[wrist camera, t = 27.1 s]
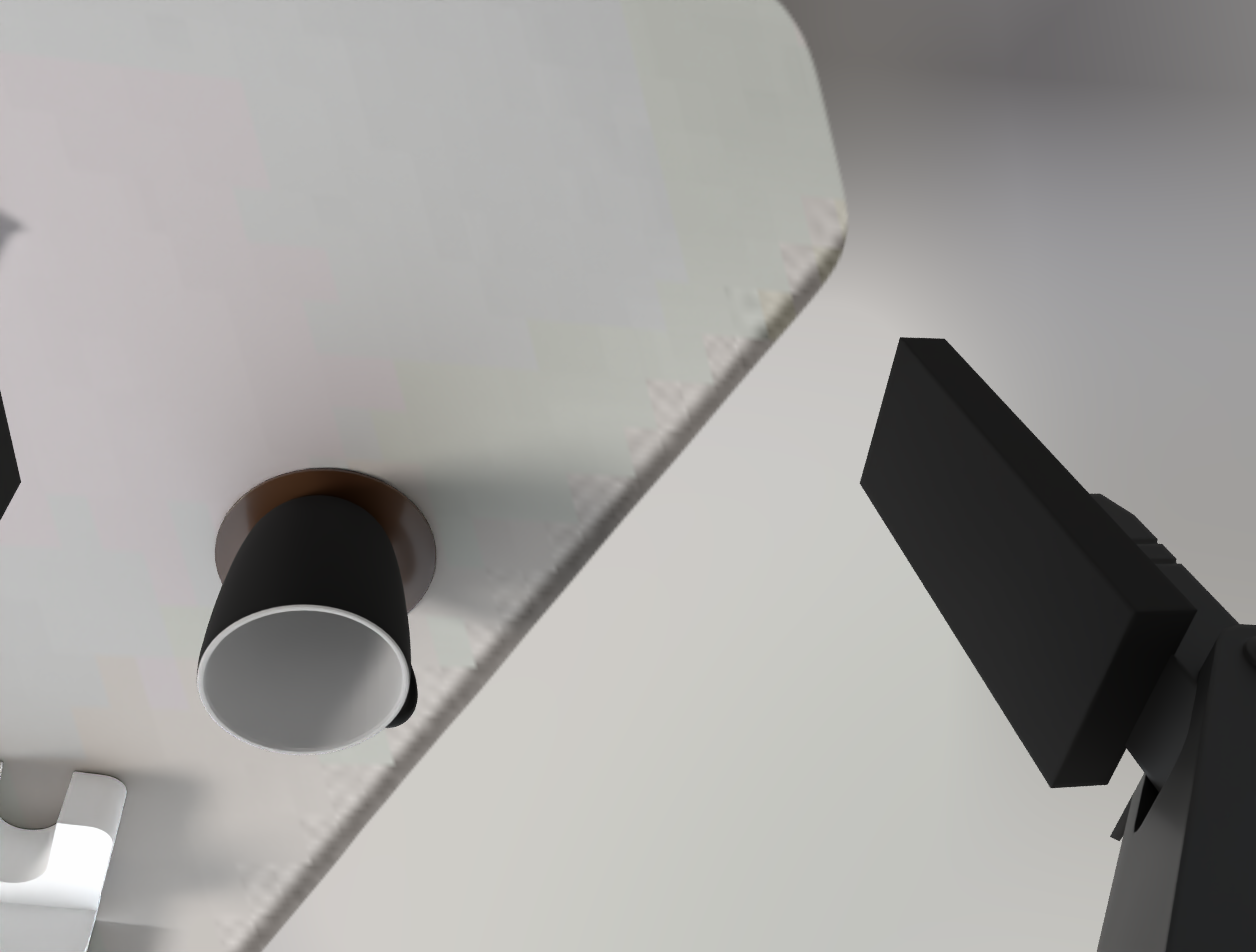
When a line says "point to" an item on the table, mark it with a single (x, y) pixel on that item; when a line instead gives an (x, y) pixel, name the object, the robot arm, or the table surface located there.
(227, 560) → the coaster
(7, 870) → the u-slot mount
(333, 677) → the mug
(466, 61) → the table surface
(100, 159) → the table surface
